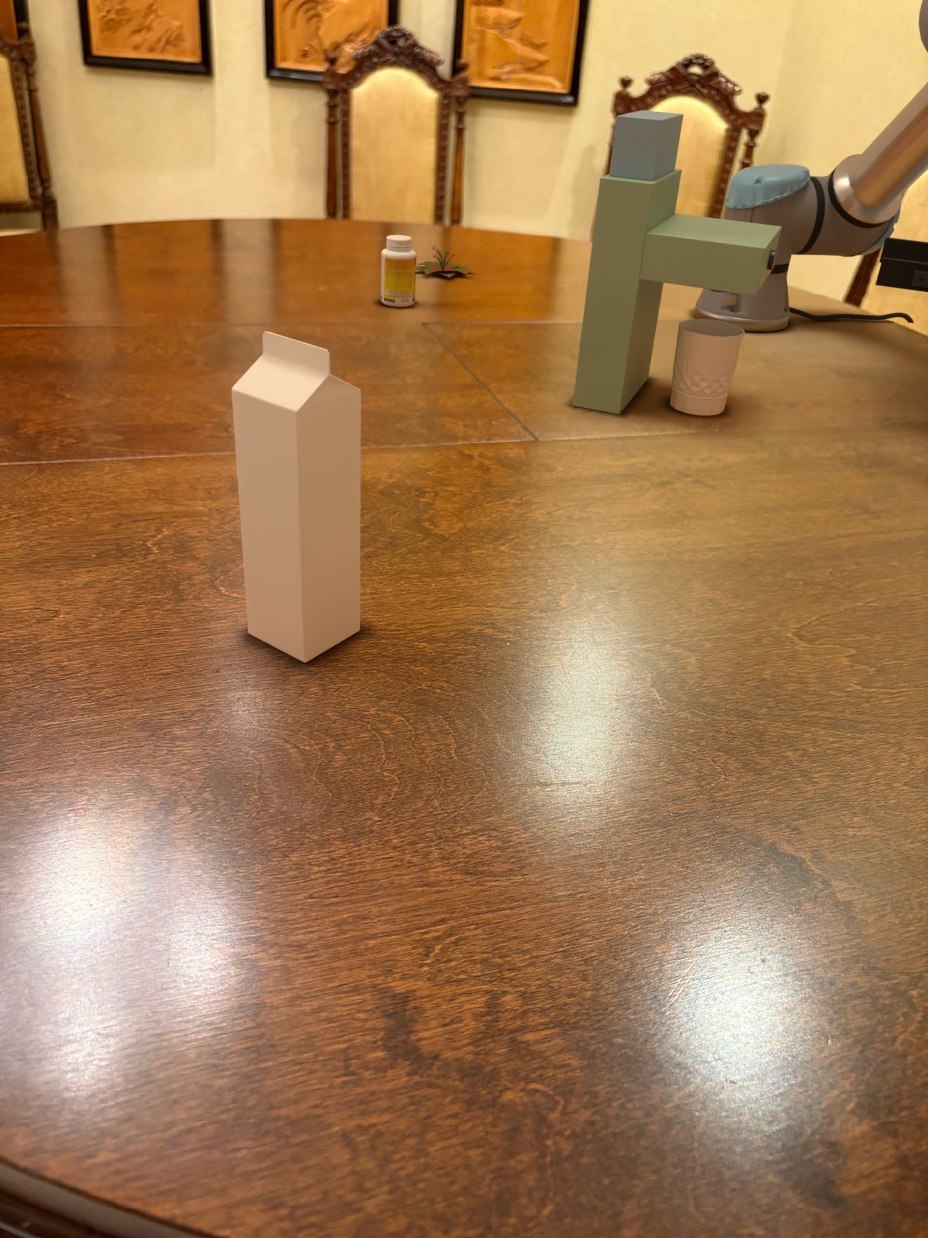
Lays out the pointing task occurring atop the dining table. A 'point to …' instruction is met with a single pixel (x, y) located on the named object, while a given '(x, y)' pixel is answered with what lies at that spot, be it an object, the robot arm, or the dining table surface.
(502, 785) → the dining table surface
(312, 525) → the milk
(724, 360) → the beige cup
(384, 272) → the supplement bottle
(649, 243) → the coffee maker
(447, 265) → the green leafy plant
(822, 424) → the dining table surface
